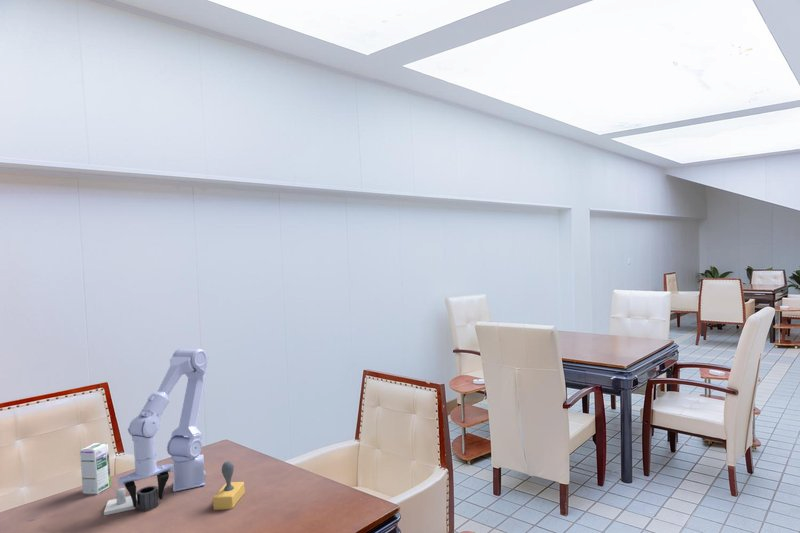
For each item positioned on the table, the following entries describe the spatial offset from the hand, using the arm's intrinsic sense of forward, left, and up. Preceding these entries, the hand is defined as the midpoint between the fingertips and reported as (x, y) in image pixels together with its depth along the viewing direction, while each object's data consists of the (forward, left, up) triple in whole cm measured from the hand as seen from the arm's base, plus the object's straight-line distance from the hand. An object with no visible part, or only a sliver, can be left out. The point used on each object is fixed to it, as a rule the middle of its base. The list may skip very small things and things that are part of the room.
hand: (147, 501), depth 146 cm
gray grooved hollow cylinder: (0, 0, -1) cm, 1 cm away
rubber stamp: (-23, +8, -2) cm, 24 cm away
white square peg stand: (+7, -5, -1) cm, 9 cm away
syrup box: (+16, -22, -2) cm, 27 cm away
